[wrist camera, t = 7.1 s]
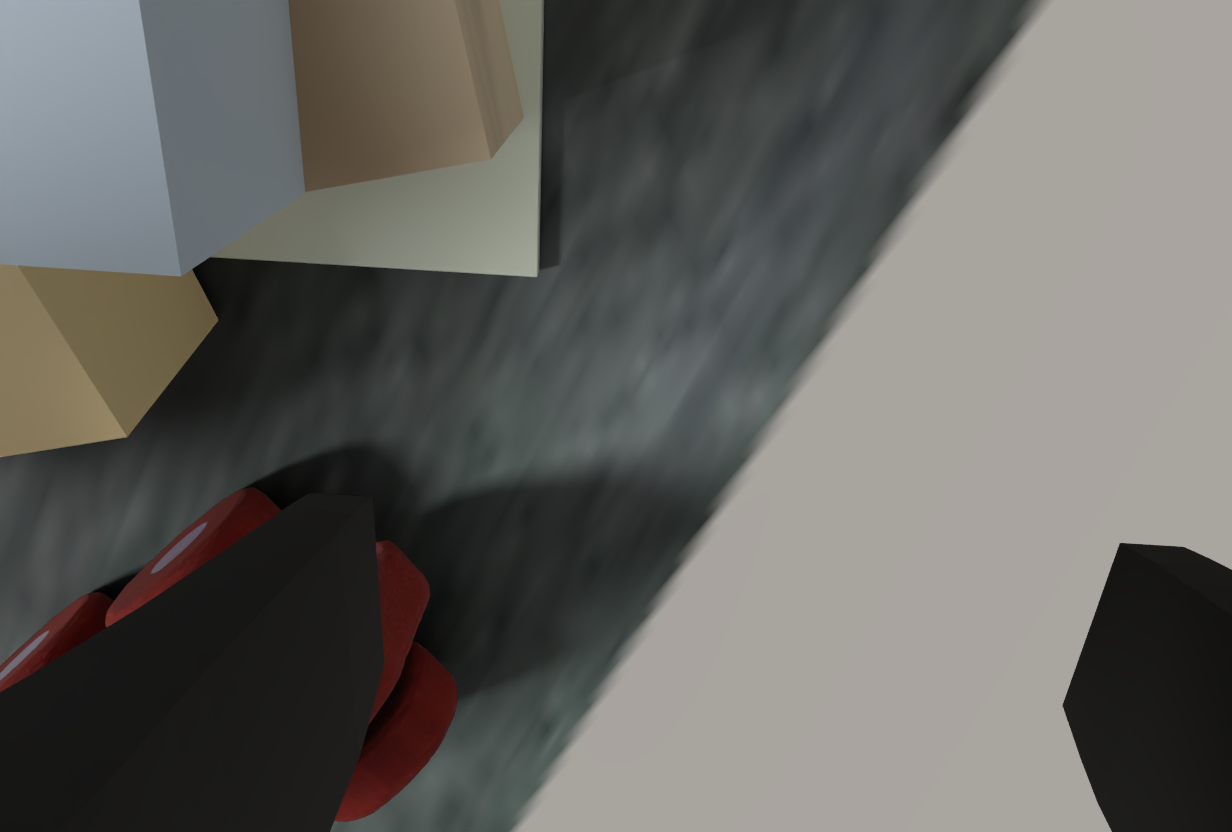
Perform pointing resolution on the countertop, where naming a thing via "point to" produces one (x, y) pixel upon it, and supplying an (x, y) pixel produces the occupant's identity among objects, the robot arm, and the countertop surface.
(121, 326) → the ochre block
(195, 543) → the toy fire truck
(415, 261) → the plate
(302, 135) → the maple block
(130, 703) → the robot arm
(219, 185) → the blue block
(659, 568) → the countertop surface
